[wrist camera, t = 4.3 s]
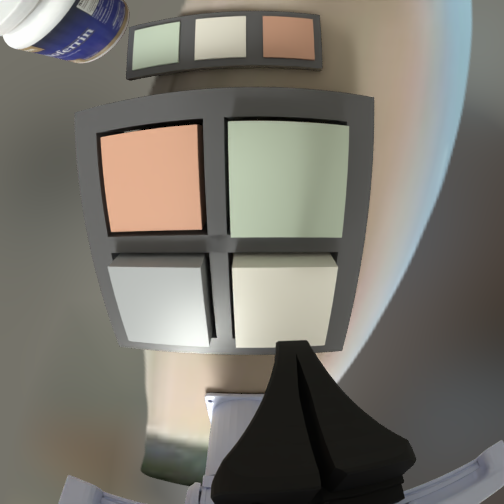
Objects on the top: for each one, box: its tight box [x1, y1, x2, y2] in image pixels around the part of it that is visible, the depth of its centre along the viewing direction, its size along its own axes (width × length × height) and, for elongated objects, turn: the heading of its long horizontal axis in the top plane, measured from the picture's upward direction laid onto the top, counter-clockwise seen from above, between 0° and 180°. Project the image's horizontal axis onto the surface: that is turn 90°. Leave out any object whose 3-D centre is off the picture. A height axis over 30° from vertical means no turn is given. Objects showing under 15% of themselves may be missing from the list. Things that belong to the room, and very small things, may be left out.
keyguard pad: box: [75, 87, 374, 355], centre depth 16 cm, size 16×16×4 cm
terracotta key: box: [101, 125, 207, 232], centre depth 15 cm, size 5×5×3 cm
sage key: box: [228, 121, 349, 238], centre depth 13 cm, size 5×5×3 cm
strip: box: [126, 11, 322, 80], centre depth 13 cm, size 12×4×1 cm, turn 90°
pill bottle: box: [0, 0, 129, 63], centre depth 7 cm, size 6×6×10 cm
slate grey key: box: [108, 253, 215, 347], centre depth 16 cm, size 5×5×3 cm
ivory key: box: [232, 252, 338, 348], centre depth 16 cm, size 5×5×3 cm
